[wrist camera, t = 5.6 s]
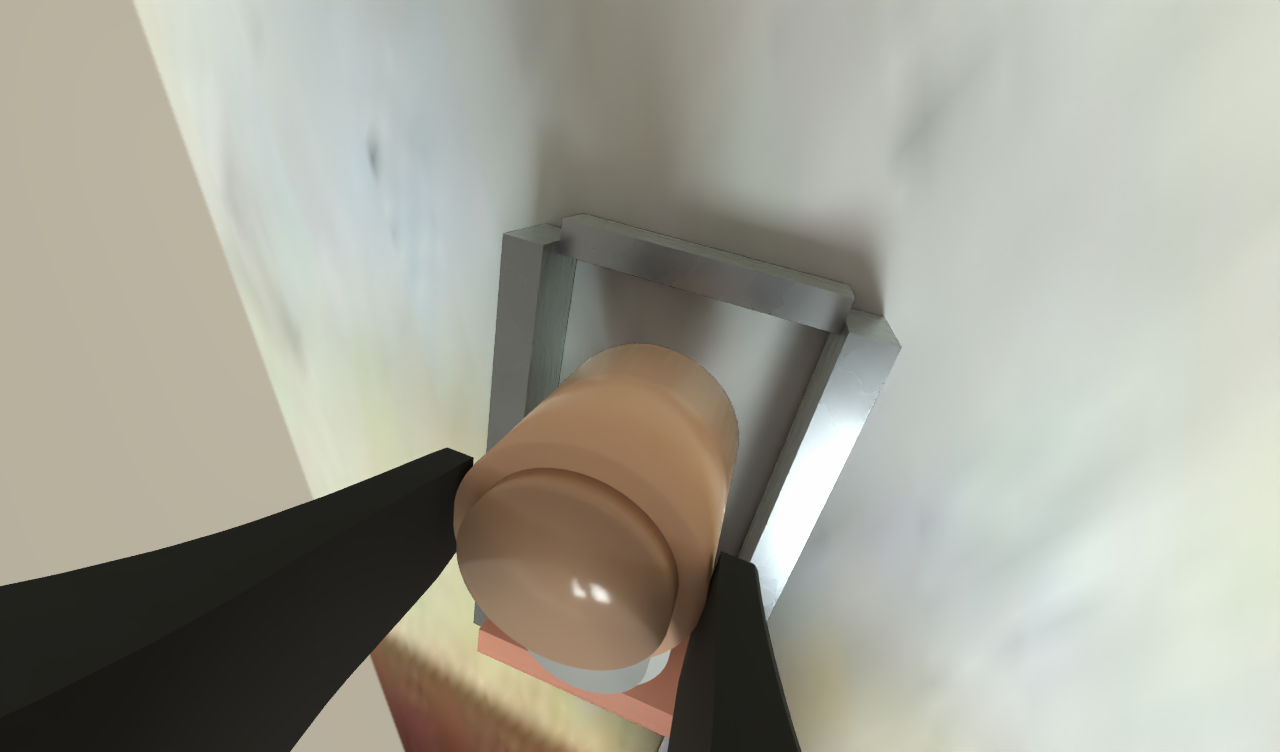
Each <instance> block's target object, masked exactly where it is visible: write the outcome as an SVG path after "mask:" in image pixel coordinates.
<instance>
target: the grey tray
mask: <svg viewBox="0 0 1280 752" xmlns="http://www.w3.org/2000/svg"><path fill="white" fill-rule="evenodd" d="M577 259H578V260H581V261H585V262H588V263H592V264H595V265H599V266H602V267H606V268H609V269H613V270H616V271H620V272H623V273H627V274H630V275H634V276H637V277H640V278H644V279H647V280H651V281H654V282H658V283H661V284H665V285H668V286H672V287H675V288H679V289H682V290H686V291H689V292H693V293H696V294H700V295H703V296H707V297H710V298H714V299H717V300H720V301H724V302H727V303H731V304H734V305H738V306H741V307H745V308H748V309H752V310H755V311H759V312H762V313H766V314H769V315H773V316H776V317H780V318H783V319H787V320H790V321H794V322H797V323H800V324H804V325H807V326H811V327H814V328H818V329H821V330H825V331H828V332H830V333H829V336H828V338H827V341H826V343H825V345H824V348H823V350H822V353H821V355H820V358H819V360H818V362H817V365H816V367H815V370H814V372H813V375H812V377H811V380H810V382H809V384H808V387H807V389H806V392H805V394H804V397H803V399H802V401H801V404H800V406H799V409H798V411H797V414H796V416H795V418H794V421H793V423H792V426H791V428H790V431H789V433H788V435H787V438H786V440H785V443H784V445H783V448H782V450H781V452H780V455H779V457H778V460H777V462H776V465H775V467H774V469H773V472H772V474H771V477H770V479H769V482H768V484H767V486H766V489H765V491H764V494H763V496H762V499H761V501H760V503H759V506H758V508H757V511H756V513H755V516H754V518H753V520H752V523H751V525H750V528H749V530H748V533H747V535H746V537H745V540H744V542H743V545H742V547H741V550H740V552H739V554H738V557H737V558H740V559H743V560H745V561H748V562H750V563H753V564H755V566H756V568H757V570H758V574H759V582H760V588H761V595H762V601H763V606H764V611H765V617H766V621H767V620H768V618H769V616H770V614H771V612H772V610H773V608H774V606H775V604H776V602H777V600H778V598H779V596H780V594H781V592H782V590H783V588H784V586H785V584H786V582H787V580H788V578H789V576H790V574H791V571H792V569H793V567H794V565H795V563H796V561H797V559H798V557H799V555H800V553H801V551H802V549H803V547H804V545H805V543H806V541H807V539H808V537H809V535H810V533H811V531H812V529H813V527H814V525H815V523H816V521H817V519H818V516H819V514H820V512H821V510H822V508H823V506H824V504H825V502H826V500H827V498H828V496H829V494H830V492H831V490H832V488H833V486H834V484H835V482H836V480H837V478H838V476H839V474H840V472H841V470H842V468H843V466H844V464H845V461H846V459H847V457H848V455H849V453H850V451H851V449H852V447H853V445H854V443H855V441H856V439H857V437H858V435H859V433H860V431H861V429H862V427H863V425H864V423H865V421H866V419H867V417H868V415H869V413H870V411H871V409H872V406H873V404H874V402H875V400H876V398H877V396H878V394H879V392H880V390H881V388H882V386H883V384H884V382H885V380H886V378H887V376H888V374H889V372H890V370H891V368H892V366H893V364H894V362H895V360H896V358H897V356H898V354H899V351H900V349H901V345H900V344H899V342H898V340H897V338H896V337H895V335H894V333H893V331H892V330H891V328H890V326H889V324H888V322H887V321H886V319H885V317H881V316H878V315H874V314H870V313H867V312H863V311H860V310H856V309H852V308H851V306H852V304H853V302H854V299H855V297H854V295H853V292H852V290H851V288H850V285H848V284H844V283H840V282H837V281H833V280H829V279H825V278H822V277H818V276H814V275H811V274H807V273H803V272H799V271H796V270H792V269H788V268H785V267H781V266H777V265H773V264H770V263H766V262H762V261H759V260H755V259H751V258H747V257H744V256H740V255H736V254H732V253H729V252H725V251H721V250H718V249H714V248H710V247H706V246H703V245H699V244H695V243H692V242H688V241H684V240H680V239H677V238H673V237H669V236H666V235H662V234H658V233H654V232H651V231H647V230H643V229H640V228H636V227H632V226H628V225H625V224H621V223H617V222H614V221H610V220H606V219H602V218H599V217H595V216H591V215H588V214H584V213H583V214H579V215H574V216H570V217H566V218H562V226H561V228H560V227H556V226H553V225H549V224H546V223H545V224H541V225H537V226H533V227H528V228H524V229H520V230H516V231H512V232H507V233H503V241H502V254H501V268H500V281H499V294H498V307H497V320H496V334H495V347H494V360H493V373H492V386H491V399H490V413H489V426H488V439H487V452H488V451H489V450H490V449H492V448H493V447H494V446H495V445H496V444H497V443H498V442H499V441H500V440H501V439H502V438H503V437H504V436H506V435H507V434H508V433H509V432H510V431H511V430H512V429H513V428H514V427H515V426H516V425H517V424H518V423H520V422H521V421H522V420H523V419H524V418H525V417H526V416H527V415H528V414H529V413H530V412H531V411H532V410H534V409H535V408H536V407H537V406H538V405H539V404H540V403H541V402H542V401H543V400H544V399H545V398H546V397H548V396H549V395H550V394H551V393H552V392H553V391H554V390H555V389H556V388H557V387H558V384H559V377H560V370H561V363H562V356H563V350H564V343H565V336H566V329H567V322H568V315H569V309H570V302H571V295H572V288H573V281H574V274H575V268H576V261H577ZM487 452H486V453H487ZM486 619H487V616H486V614H485V613H484V612H483V611H482V609H481V608H480V607H479V606H478V604H477V603H476V601H475V611H474V623H475V624H477V625H479V626H482V625H483V623H484V622H485V620H486Z"/></svg>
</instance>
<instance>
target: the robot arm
mask: <svg viewBox="0 0 1280 752" xmlns="http://www.w3.org/2000/svg"><path fill="white" fill-rule="evenodd" d="M472 467H473V457H471V456H468V455H465V454H463V453H460V452H457V451H455V450H452V449H450V448H445V449H442V450H439V451H436V452H434V453H431V454H429V455H426V456H424V457H421V458H419V459H416V460H414V461H411V462H409V463H406V464H404V465H401V466H399V467H397V468H394V469H392V470H389V471H387V472H384V473H382V474H379V475H377V476H374V477H372V478H369V479H367V480H364V481H362V482H359V483H357V484H354V485H352V486H349V487H347V488H344V489H342V490H339V491H337V492H334V493H332V494H329V495H326V496H323V497H321V498H318V499H315V500H312V501H310V502H307V503H304V504H301V505H298V506H296V507H293V508H290V509H287V510H284V511H282V512H279V513H276V514H273V515H270V516H268V517H265V518H262V519H259V520H256V521H253V522H250V523H247V524H244V525H241V526H238V527H235V528H232V529H228V530H225V531H222V532H219V533H216V534H212V535H209V536H205V537H201V538H198V539H195V540H191V541H188V542H184V543H181V544H177V545H174V546H170V547H166V548H163V549H159V550H155V551H152V552H147V553H143V554H139V555H135V556H131V557H127V558H123V559H119V560H115V561H110V562H106V563H102V564H98V565H94V566H90V567H86V568H82V569H78V570H73V571H69V572H65V573H61V574H56V575H52V576H47V577H42V578H38V579H33V580H28V581H24V582H18V583H14V584H9V585H4V586H0V752H290V751H291V750H292V748H293V747H294V746H295V744H296V743H297V742H298V740H299V739H300V738H301V736H302V735H303V734H304V733H305V731H306V730H307V729H308V727H309V726H310V725H311V723H312V722H313V721H314V719H315V718H316V717H317V716H318V714H319V713H320V712H321V710H322V709H323V708H324V706H325V705H326V704H327V703H328V701H329V700H330V699H331V698H332V697H333V695H334V694H335V693H336V692H337V690H338V689H339V688H340V687H341V686H342V685H343V684H344V682H345V681H346V680H347V679H348V678H349V677H350V675H351V674H352V673H353V672H354V671H355V670H356V669H357V667H358V666H359V665H360V664H361V663H362V662H363V661H364V660H365V659H366V658H367V656H368V655H369V654H370V653H371V652H372V651H373V650H374V649H375V648H376V646H377V645H378V644H379V643H380V642H381V641H382V640H383V639H384V638H385V636H386V635H387V634H388V633H389V632H390V631H391V630H392V629H393V627H394V626H395V625H396V624H397V623H398V622H399V621H400V620H401V619H402V617H403V616H404V615H405V614H406V613H407V612H408V611H409V610H410V608H411V607H412V606H413V605H414V604H415V603H416V602H417V601H418V599H419V598H420V597H421V596H422V595H423V594H424V593H425V592H426V590H427V589H428V588H429V587H430V586H431V585H432V583H433V582H434V581H435V580H436V579H437V578H438V576H439V575H440V574H441V572H442V571H443V570H444V568H445V567H446V565H447V564H448V563H449V561H450V560H451V558H452V557H453V556H454V554H455V553H456V544H457V542H456V538H455V534H454V526H453V521H454V501H455V496H456V493H457V491H458V488H459V485H460V483H461V481H462V480H463V478H464V477H465V475H466V473H467V472H468V471H469V470H470V469H471V468H472ZM658 752H801V749H800V746H799V742H798V739H797V736H796V733H795V730H794V726H793V723H792V720H791V716H790V713H789V709H788V706H787V702H786V699H785V695H784V691H783V687H782V684H781V680H780V676H779V672H778V668H777V665H776V661H775V657H774V653H773V648H772V644H771V640H770V635H769V631H768V626H767V621H766V617H765V611H764V606H763V601H762V595H761V588H760V582H759V574H758V570H757V568H756V566H755V564H753V563H750V562H748V561H745V560H743V559H740V558H737V557H735V556H732V555H729V554H727V553H724V552H721V554H720V556H719V559H718V561H717V564H716V566H715V569H714V572H713V574H712V577H711V580H710V585H709V590H708V595H707V600H706V604H705V606H704V609H703V611H702V614H701V616H700V619H699V621H698V624H697V626H696V627H695V629H694V630H693V631H692V632H691V634H690V638H689V642H688V646H687V649H686V653H685V657H684V661H683V665H682V669H681V673H680V677H679V681H678V687H677V693H676V700H675V706H674V712H673V718H672V725H671V731H670V737H669V738H667V737H664V739H663V741H662V744H661V746H660V749H659V751H658Z"/></svg>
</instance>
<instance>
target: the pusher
mask: <svg viewBox="0 0 1280 752" xmlns="http://www.w3.org/2000/svg"><path fill="white" fill-rule="evenodd" d="M689 638H690V635H689V636H688V637H687V638H686V639H685V640H684V641H682V642H681V643H680V644H678V645H677V646H676V647H674V648H672V649H671V651H670V655H669V659H668V662H667V664H666V666H665V668H664V669H663V670H662V671H661V673H660V674H658V675H657V676H656V677H655V678H653V679H651V680H650V681H648V682H645V683H643V684H640V685H637V686H635V687H634V688H632V689H630V690H628V691H625V692H621V693H615V694H601V693H594V692H589V691H585V690H582V689H579V688H576V687H574V686H572V685H569V684H567V683H565V682H563V681H562V680H560V679H558V678H557V677H555V676H554V675H552V674H551V673H549V672H548V671H547V670H546V669H544V668H543V667H542V666H541V665H540V664H539V663H538V662H537V661H536V660H535V659H534V658H533V656H532V655H531V654H530V653H529V651H528V650H527V648H525V647H524V646H522V645H521V644H519V643H517V642H516V641H515V640H513V639H512V638H511V637H509V636H508V635H507V634H505V633H504V632H503V631H502V630H501V629H500V628H498V627H497V626H496V625H495V624H494V623H493V622H492V621H491V620H490V619H489V618H488V617H487V619H486V620H485V622H484V623H483V625H482V626H481V627H480V629H479V638H478V650H477V651H478V652H480V653H483V654H485V655H487V656H489V657H491V658H494V659H496V660H498V661H500V662H502V663H505V664H507V665H509V666H511V667H513V668H516V669H518V670H520V671H522V672H524V673H527V674H529V675H531V676H533V677H535V678H537V679H540V680H542V681H544V682H546V683H548V684H551V685H553V686H555V687H557V688H559V689H562V690H564V691H566V692H568V693H570V694H573V695H575V696H577V697H579V698H581V699H583V700H586V701H588V702H590V703H592V704H594V705H597V706H599V707H601V708H603V709H605V710H608V711H610V712H612V713H614V714H616V715H619V716H621V717H623V718H625V719H627V720H630V721H632V722H634V723H636V724H638V725H640V726H643V727H645V728H647V729H649V730H651V731H654V732H656V733H658V734H660V735H662V736H665V737H667V738H669V737H670V731H671V725H672V718H673V712H674V706H675V700H676V693H677V687H678V681H679V677H680V673H681V669H682V665H683V661H684V657H685V653H686V649H687V646H688V642H689Z"/></svg>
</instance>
